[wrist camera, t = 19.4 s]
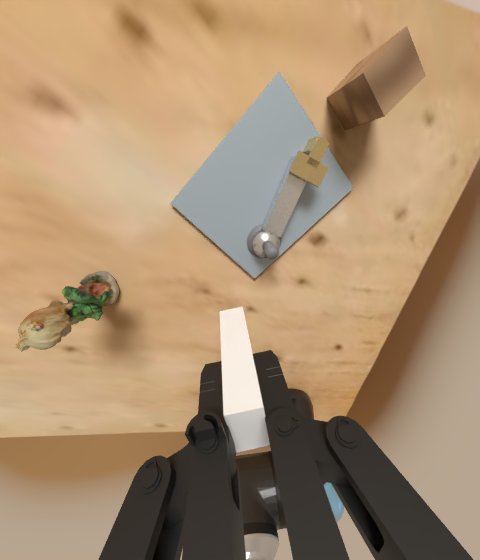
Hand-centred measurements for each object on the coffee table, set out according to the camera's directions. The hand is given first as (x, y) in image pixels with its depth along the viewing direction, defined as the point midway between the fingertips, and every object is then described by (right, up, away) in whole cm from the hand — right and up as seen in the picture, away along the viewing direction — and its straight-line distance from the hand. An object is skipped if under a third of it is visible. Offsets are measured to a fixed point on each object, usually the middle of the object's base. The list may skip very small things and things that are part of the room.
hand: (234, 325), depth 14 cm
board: (+4, +17, +20) cm, 26 cm away
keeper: (+10, +21, +18) cm, 29 cm away
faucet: (+6, +14, +20) cm, 25 cm away
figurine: (-24, +2, +24) cm, 34 cm away
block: (+16, +28, +15) cm, 36 cm away
